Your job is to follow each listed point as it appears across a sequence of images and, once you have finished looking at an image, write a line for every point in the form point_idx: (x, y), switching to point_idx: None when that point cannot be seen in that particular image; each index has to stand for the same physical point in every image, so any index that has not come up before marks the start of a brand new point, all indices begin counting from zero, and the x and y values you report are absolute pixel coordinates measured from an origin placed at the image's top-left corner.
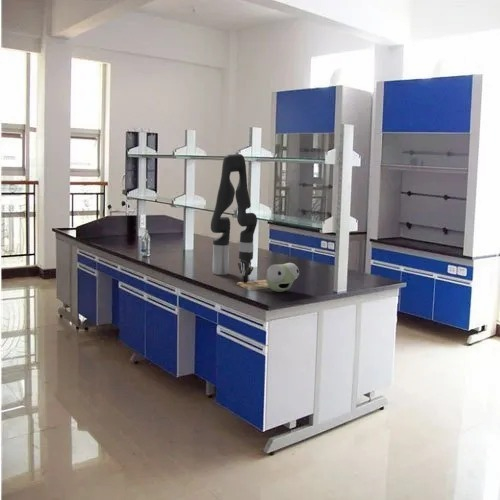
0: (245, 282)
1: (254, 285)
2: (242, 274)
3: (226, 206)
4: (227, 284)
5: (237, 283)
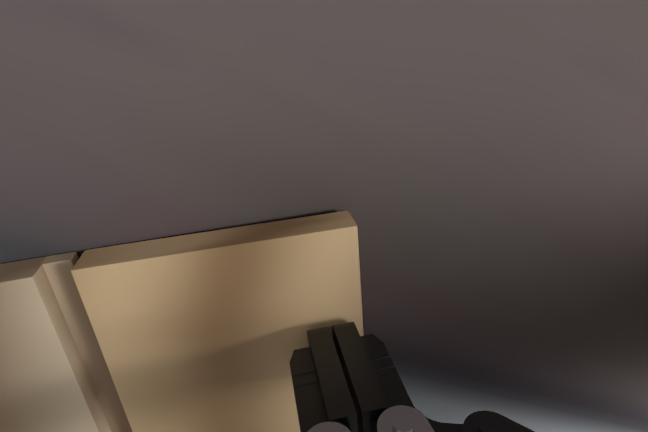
0: None
1: (82, 420)
2: (399, 416)
3: None
4: (450, 72)
5: (338, 222)
